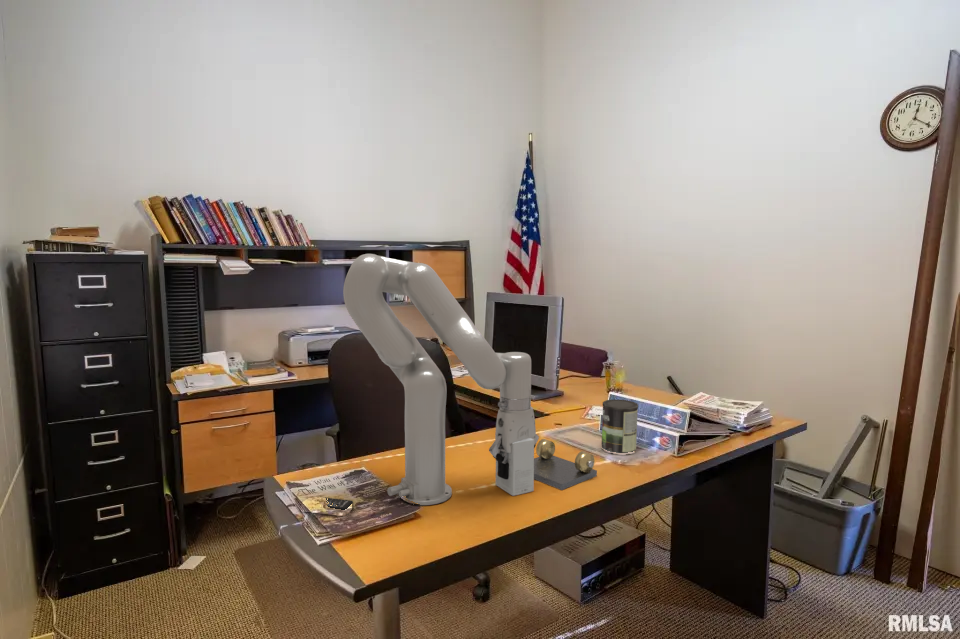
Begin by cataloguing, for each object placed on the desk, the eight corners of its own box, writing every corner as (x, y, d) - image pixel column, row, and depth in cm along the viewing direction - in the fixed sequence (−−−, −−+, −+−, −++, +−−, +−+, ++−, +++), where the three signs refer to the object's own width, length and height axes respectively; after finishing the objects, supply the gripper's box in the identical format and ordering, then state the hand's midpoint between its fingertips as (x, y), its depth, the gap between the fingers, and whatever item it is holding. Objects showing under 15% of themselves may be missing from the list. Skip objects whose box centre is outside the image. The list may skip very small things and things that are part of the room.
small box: (534, 491, 139) (535, 439, 137) (512, 496, 135) (512, 443, 134) (515, 480, 146) (516, 430, 144) (494, 485, 142) (495, 434, 141)
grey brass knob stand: (563, 490, 139) (563, 465, 138) (511, 470, 152) (511, 446, 152) (598, 476, 148) (599, 452, 148) (546, 458, 162) (547, 436, 161)
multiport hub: (310, 504, 131) (310, 495, 131) (353, 510, 129) (353, 500, 128) (299, 513, 127) (299, 503, 127) (344, 518, 124) (344, 508, 124)
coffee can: (604, 455, 165) (605, 407, 163) (598, 443, 175) (599, 399, 173) (640, 456, 164) (642, 408, 163) (632, 444, 174) (633, 399, 173)
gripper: (499, 412, 130) (499, 487, 132) (550, 400, 141) (549, 469, 143) (478, 406, 135) (477, 478, 137) (528, 395, 147) (527, 461, 149)
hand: (514, 473), depth 140 cm, fingers closed on small box, 7 cm apart
